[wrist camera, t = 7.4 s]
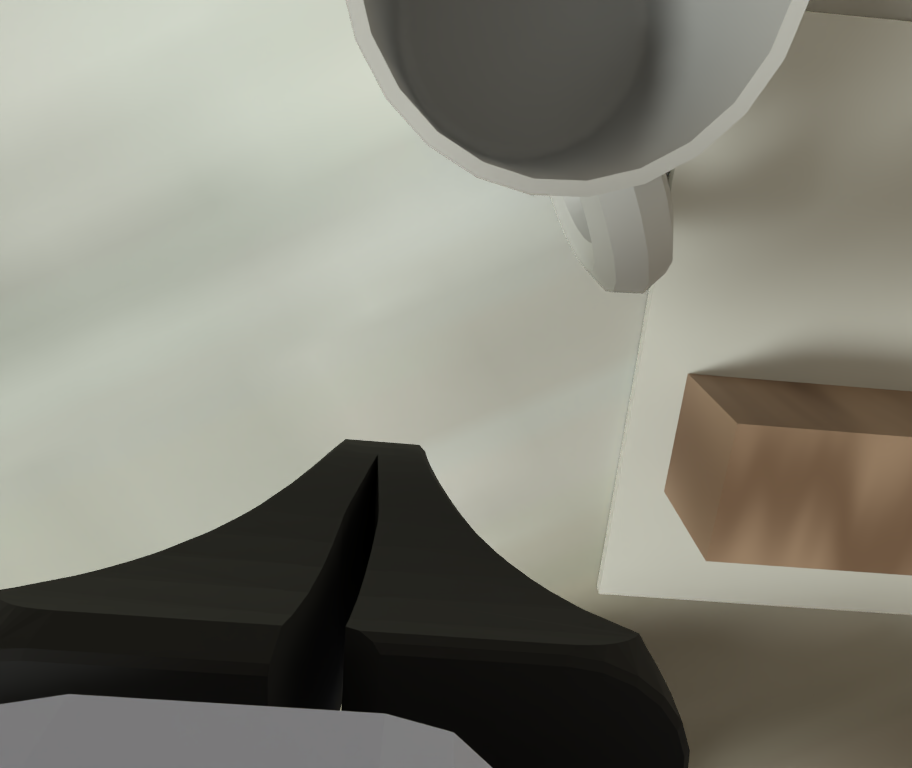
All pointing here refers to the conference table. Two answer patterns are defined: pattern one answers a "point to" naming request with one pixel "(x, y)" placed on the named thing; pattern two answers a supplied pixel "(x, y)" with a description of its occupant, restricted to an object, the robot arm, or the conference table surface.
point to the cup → (579, 101)
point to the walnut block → (795, 474)
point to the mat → (777, 295)
